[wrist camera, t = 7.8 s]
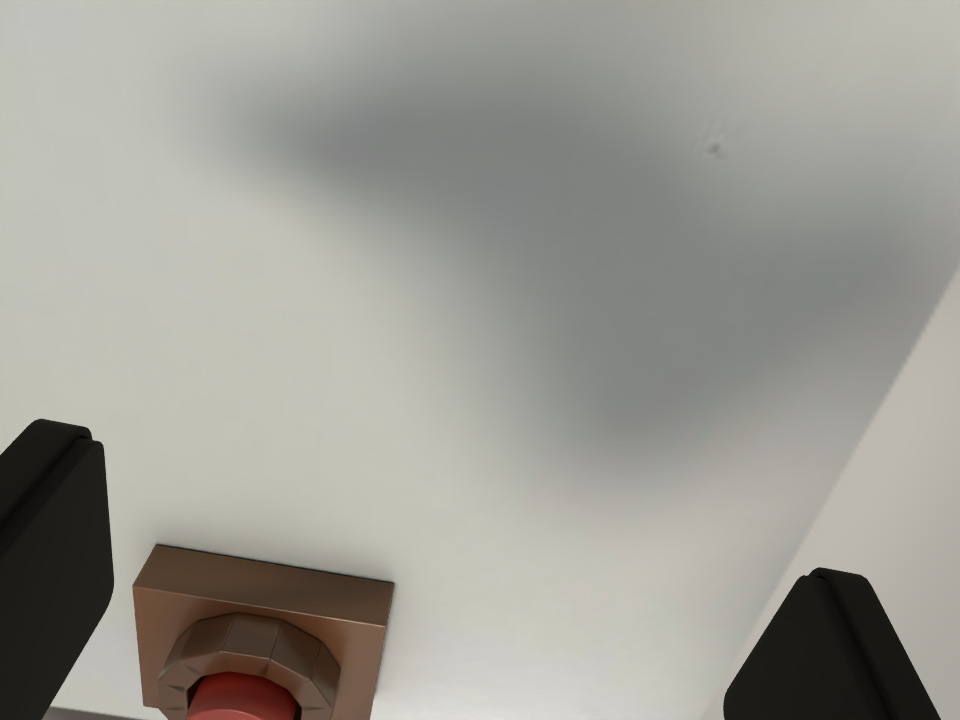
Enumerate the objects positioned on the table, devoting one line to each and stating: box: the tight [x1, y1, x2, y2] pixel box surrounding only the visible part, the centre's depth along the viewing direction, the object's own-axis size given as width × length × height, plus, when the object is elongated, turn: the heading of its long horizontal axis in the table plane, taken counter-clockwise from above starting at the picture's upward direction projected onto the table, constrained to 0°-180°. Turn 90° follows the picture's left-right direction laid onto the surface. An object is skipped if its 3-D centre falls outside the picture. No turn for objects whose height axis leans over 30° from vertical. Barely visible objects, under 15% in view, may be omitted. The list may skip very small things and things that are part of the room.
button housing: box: [132, 545, 394, 720], centre depth 31 cm, size 10×8×4 cm
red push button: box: [185, 671, 296, 720], centre depth 29 cm, size 4×4×2 cm
